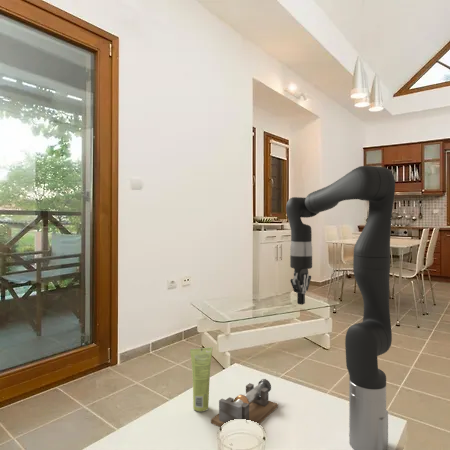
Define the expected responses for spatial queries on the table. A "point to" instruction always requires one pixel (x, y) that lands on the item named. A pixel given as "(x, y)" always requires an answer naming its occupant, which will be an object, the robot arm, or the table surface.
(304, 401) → the table surface
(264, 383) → the shaft
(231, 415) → the bearing board
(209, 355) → the tube
